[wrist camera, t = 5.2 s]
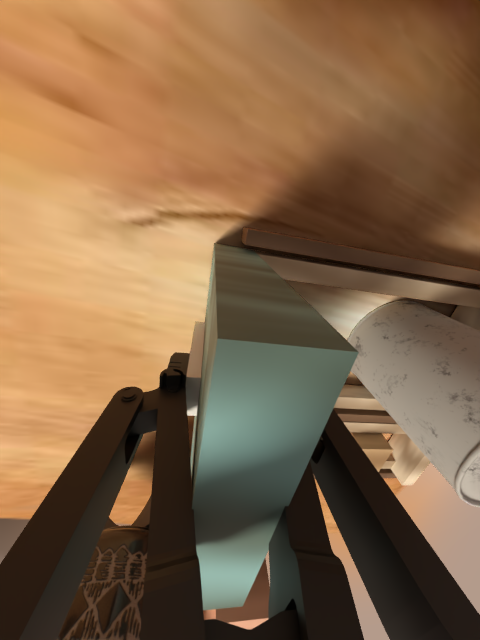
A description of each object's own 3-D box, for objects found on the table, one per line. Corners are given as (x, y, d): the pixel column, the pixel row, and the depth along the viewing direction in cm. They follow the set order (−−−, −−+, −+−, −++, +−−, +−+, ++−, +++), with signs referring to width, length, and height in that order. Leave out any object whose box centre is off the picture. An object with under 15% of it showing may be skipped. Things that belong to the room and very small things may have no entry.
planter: (210, 489, 31) (206, 779, 15) (118, 511, 31) (18, 825, 15) (179, 426, 25) (123, 784, 10) (67, 453, 25) (-178, 857, 10)
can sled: (214, 243, 17) (217, 338, 4) (482, 288, 22) (891, 404, 9) (197, 386, 23) (175, 613, 10) (411, 399, 27) (592, 570, 14)
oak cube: (342, 418, 28) (361, 449, 24) (370, 419, 29) (393, 449, 25) (331, 440, 30) (347, 472, 26) (358, 441, 30) (378, 472, 27)
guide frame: (243, 226, 17) (247, 229, 15) (519, 277, 22) (554, 284, 20) (204, 458, 28) (204, 479, 26) (393, 459, 33) (406, 477, 30)
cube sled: (214, 402, 24) (215, 623, 11) (418, 412, 28) (590, 581, 15) (206, 451, 27) (199, 668, 14) (389, 454, 32) (512, 623, 19)
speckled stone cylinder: (397, 281, 21) (609, 361, 10) (451, 329, 24) (660, 432, 13) (325, 357, 23) (425, 486, 12) (382, 391, 27) (503, 519, 16)
